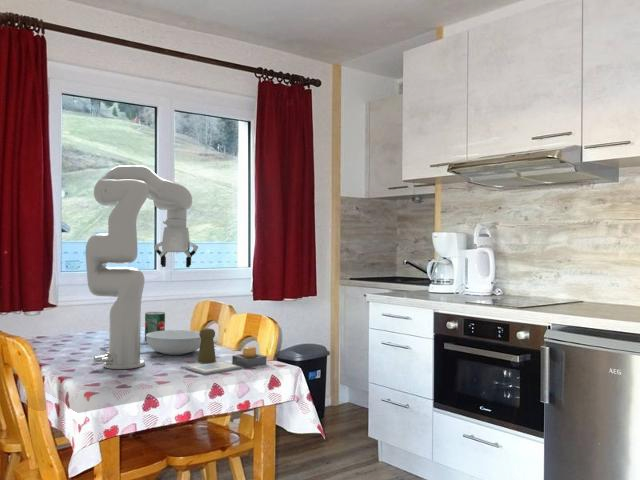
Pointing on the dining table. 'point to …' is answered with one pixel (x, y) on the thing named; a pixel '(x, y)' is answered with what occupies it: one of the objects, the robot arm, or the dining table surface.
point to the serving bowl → (174, 341)
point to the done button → (249, 352)
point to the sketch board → (213, 368)
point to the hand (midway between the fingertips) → (175, 267)
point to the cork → (207, 346)
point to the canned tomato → (154, 322)
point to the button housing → (249, 360)
